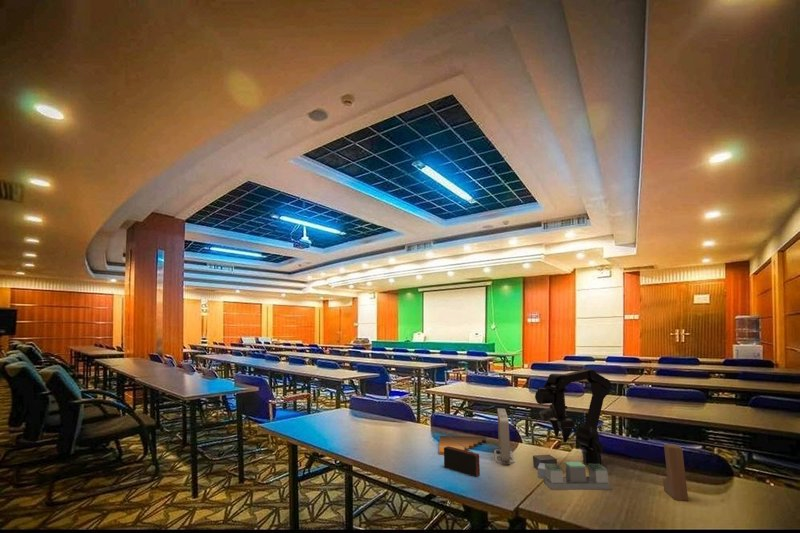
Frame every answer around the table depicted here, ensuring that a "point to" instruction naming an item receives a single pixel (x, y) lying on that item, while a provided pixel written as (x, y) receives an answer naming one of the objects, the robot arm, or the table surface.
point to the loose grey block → (543, 460)
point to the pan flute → (463, 440)
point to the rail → (594, 481)
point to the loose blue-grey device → (541, 470)
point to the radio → (461, 460)
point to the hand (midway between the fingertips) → (560, 439)
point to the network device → (503, 439)
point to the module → (575, 471)
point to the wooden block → (675, 473)
